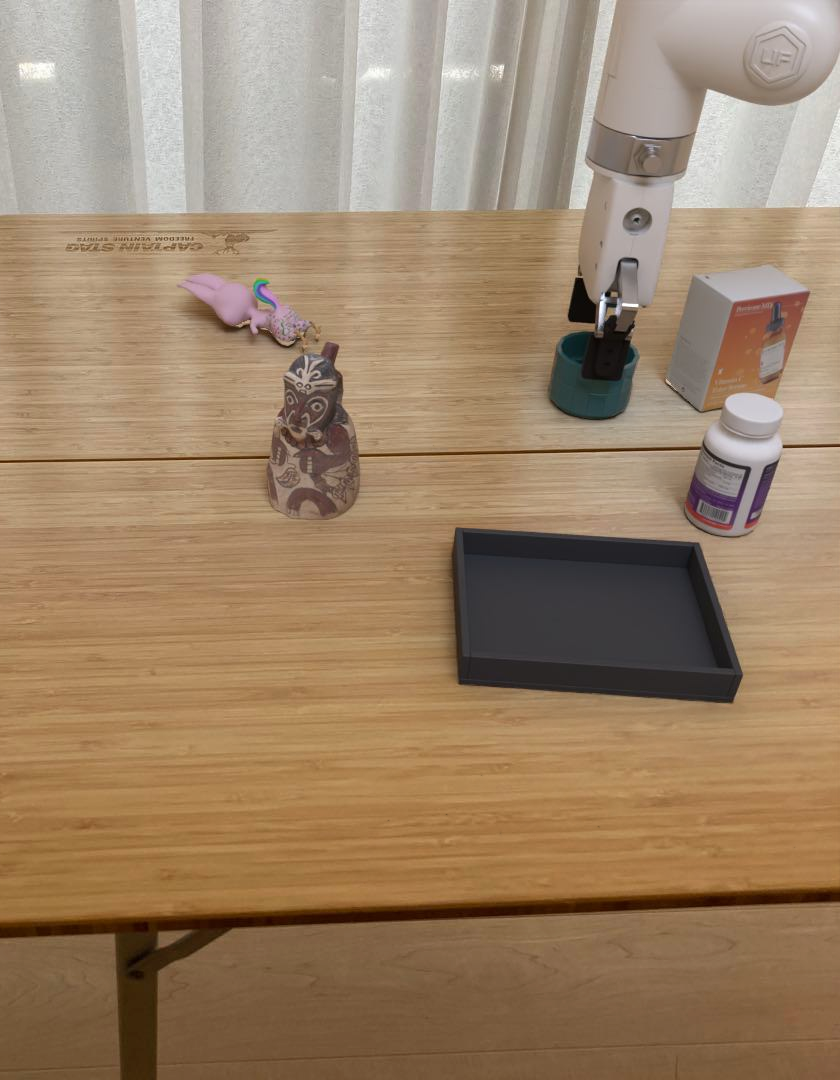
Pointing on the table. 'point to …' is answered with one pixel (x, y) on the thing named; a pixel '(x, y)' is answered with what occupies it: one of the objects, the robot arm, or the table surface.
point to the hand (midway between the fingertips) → (592, 349)
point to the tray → (590, 616)
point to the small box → (735, 334)
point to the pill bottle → (736, 466)
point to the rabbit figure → (248, 306)
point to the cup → (588, 381)
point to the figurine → (313, 442)
